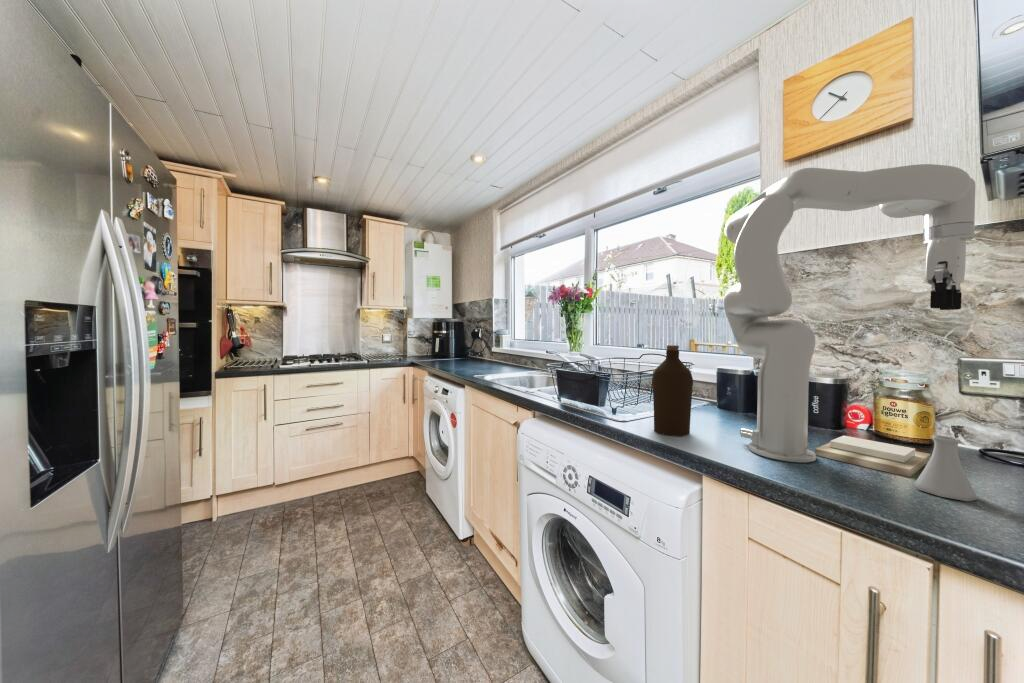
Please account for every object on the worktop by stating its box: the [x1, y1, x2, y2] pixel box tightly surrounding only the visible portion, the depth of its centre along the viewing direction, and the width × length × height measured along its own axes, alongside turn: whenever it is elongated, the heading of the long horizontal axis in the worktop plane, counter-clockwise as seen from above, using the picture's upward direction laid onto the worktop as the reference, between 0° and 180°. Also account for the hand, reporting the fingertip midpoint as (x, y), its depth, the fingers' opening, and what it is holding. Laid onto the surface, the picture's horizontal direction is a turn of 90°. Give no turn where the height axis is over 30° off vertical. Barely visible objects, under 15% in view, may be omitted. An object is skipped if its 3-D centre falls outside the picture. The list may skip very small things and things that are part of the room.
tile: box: [829, 435, 916, 463], centre depth 81 cm, size 12×2×9 cm
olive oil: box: [651, 344, 694, 437], centre depth 102 cm, size 11×11×25 cm
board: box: [814, 442, 932, 478], centre depth 81 cm, size 15×18×2 cm
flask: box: [913, 434, 979, 502], centre depth 63 cm, size 7×7×10 cm
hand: (945, 308), depth 83 cm, fingers open, 9 cm apart
